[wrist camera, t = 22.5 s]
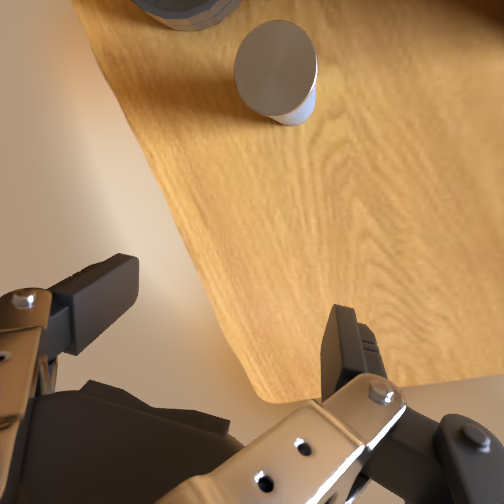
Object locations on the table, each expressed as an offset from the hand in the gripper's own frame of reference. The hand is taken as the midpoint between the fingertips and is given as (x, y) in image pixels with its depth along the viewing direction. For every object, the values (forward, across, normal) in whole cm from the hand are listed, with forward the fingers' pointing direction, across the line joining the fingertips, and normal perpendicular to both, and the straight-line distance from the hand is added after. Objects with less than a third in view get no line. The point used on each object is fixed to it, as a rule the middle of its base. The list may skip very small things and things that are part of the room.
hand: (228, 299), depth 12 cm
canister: (+26, +1, -10) cm, 28 cm away
